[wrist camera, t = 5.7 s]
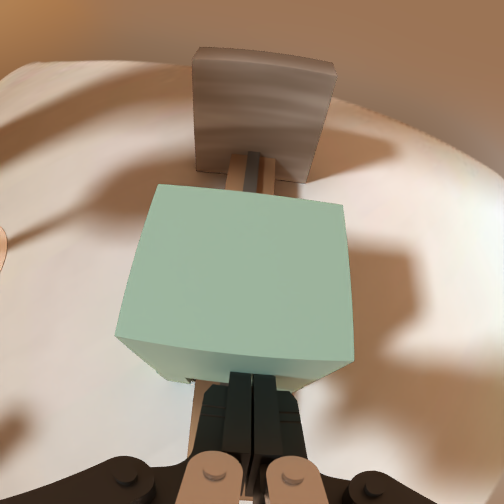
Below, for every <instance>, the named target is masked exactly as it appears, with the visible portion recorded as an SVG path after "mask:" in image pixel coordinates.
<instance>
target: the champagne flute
mask: <svg viewBox="0 0 504 504" xmlns="http://www.w3.org/2000/svg"><path fill="white" fill-rule="evenodd" d="M6 251H7V238H6V235H5V232H4V231H3V229H2V228H1V227H0V270H1V268H2V266H3V263H4V260H5V256H6Z"/></svg>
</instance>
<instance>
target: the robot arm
mask: <svg viewBox="0 0 504 504" xmlns="http://www.w3.org/2000/svg"><path fill="white" fill-rule="evenodd" d="M244 484H245V496H247V497H253V504H437V503H435V502H433V501H431V500H430V499H428V498H426V497H424V496H422V495H420V494H419V493H417V492H415V491H413V490H412V489H410V488H408V487H407V486H405V485H403V484H402V483H400V482H398V481H397V480H395V479H393V478H392V477H390V476H388V475H386V474H385V473H382V472H378V471H365V472H362V473H359V474H357V475H356V476H355V477H354V478H353V479H352V480H351V481H349V480H343V479H338V478H333V477H329V476H326V475H323V474H321V473H320V472H319V470H318V468H317V467H316V466H315V465H314V464H313V463H312V462H311V461H309V460H308V458H307V454H306V448H305V442H304V436H303V431H302V425H301V420H300V414H299V408H298V403H297V400H296V399H295V398H294V396H293V395H292V394H291V393H290V391H280V390H277V387H276V378H275V376H272V375H259V374H253V378H252V384H251V374H249V373H239V372H230V376H229V385H228V386H225V385H216V384H212V385H211V386H210V387H209V388H208V390H207V391H206V392H205V393H204V397H203V402H202V407H201V412H200V416H199V421H198V426H197V431H196V436H195V441H194V446H193V450H192V453H191V454H190V456H189V457H188V458H187V459H186V460H185V461H183V462H181V463H179V464H177V465H173V466H167V467H149V466H148V465H147V464H146V463H145V462H143V461H142V460H140V459H137V458H134V457H130V456H118V457H114V458H111V459H109V460H107V461H104V462H102V463H100V464H98V465H95V466H93V467H91V468H89V469H86V470H84V471H82V472H79V473H77V474H74V475H72V476H69V477H67V478H64V479H62V480H59V481H56V482H54V483H51V484H48V485H46V486H43V487H40V488H37V489H34V490H31V491H28V492H25V493H22V494H19V495H16V496H13V497H9V498H6V499H3V500H0V504H239V499H240V496H242V493H243V489H244Z"/></svg>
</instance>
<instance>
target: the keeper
mask: <svg viewBox="0 0 504 504" xmlns="http://www.w3.org/2000/svg"><path fill="white" fill-rule="evenodd" d="M115 337H117V338H118V339H119V340H120V341H121V342H122V343H123V344H125V345H126V346H127V347H128V348H129V349H130V350H131V351H133V352H134V353H135V354H136V355H137V356H139V357H140V358H141V359H142V360H143V361H145V362H146V363H147V364H148V365H150V366H151V367H152V368H153V369H155V370H156V372H157V373H158V374H159V375H161V376H162V377H163V378H165V379H166V380H167V381H173V382H180V383H186V384H191V379H199V380H206V381H214V382H223V383H229V376H230V372H239V373H249V374H251V384H252V378H253V374H259V375H272V376H275V378H276V387H277V390H280V391H290V393H292V392H295V391H297V390H299V389H301V388H303V386H306V385H308V384H310V383H312V382H314V381H316V380H318V379H320V378H322V377H324V376H326V375H328V374H330V373H332V372H334V371H336V370H338V369H340V368H342V367H344V366H346V365H348V364H350V363H352V362H353V361H354V331H353V310H352V293H351V279H350V267H349V256H348V246H347V236H346V227H345V219H344V211H343V205H340V204H333V203H326V202H320V201H313V200H306V199H298V198H291V197H283V196H276V195H267V194H259V193H251V192H242V191H232V190H223V189H213V188H202V187H191V186H179V185H166V184H158V186H157V189H156V192H155V194H154V197H153V200H152V203H151V206H150V209H149V212H148V215H147V218H146V221H145V224H144V227H143V230H142V234H141V237H140V240H139V243H138V247H137V250H136V253H135V257H134V260H133V264H132V267H131V271H130V275H129V278H128V282H127V286H126V290H125V293H124V297H123V301H122V305H121V310H120V314H119V318H118V322H117V327H116V331H115Z"/></svg>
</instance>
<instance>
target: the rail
mask: <svg viewBox="0 0 504 504" xmlns="http://www.w3.org/2000/svg"><path fill="white" fill-rule="evenodd" d="M336 79H337V73H336V71H335V68H334V65H333V63H331V62H326V61H322V60H316V59H311V58H306V57H300V56H294V55H287V54H280V53H272V52H265V51H255V50H245V49H233V48H215V47H199V49H198V51H197V52H196V54H195V55H194V57H193V59H192V81H193V113H194V136H195V156H196V171H202V172H213V173H224V174H228V175H227V180H226V185H225V190H232V191H242V192H251V193H259V194H267V195H274V184H275V179H277V180H284V181H292V182H299V183H306V180H307V177H308V174H309V170H310V167H311V164H312V161H313V157H314V154H315V151H316V148H317V144H318V141H319V138H320V134H321V131H322V128H323V124H324V121H325V118H326V114H327V111H328V108H329V104H330V101H331V97H332V94H333V90H334V87H335V83H336ZM212 384H216V385H225V386H228V385H229V383H223V382H214V381H206V380H199V379H196V382H195V390H194V398H193V407H192V416H191V425H190V435H189V444H188V455H187V458H188V457H189V456H190V454H191V453H192V450H193V446H194V441H195V436H196V431H197V426H198V421H199V416H200V412H201V407H202V402H203V397H204V393H205V392H206V391H207V390H208V388H209V387H210V386H211V385H212ZM239 500H246V501H253V497H247V496H245V484H244V489H243V493H242V496H240V499H239Z"/></svg>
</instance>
